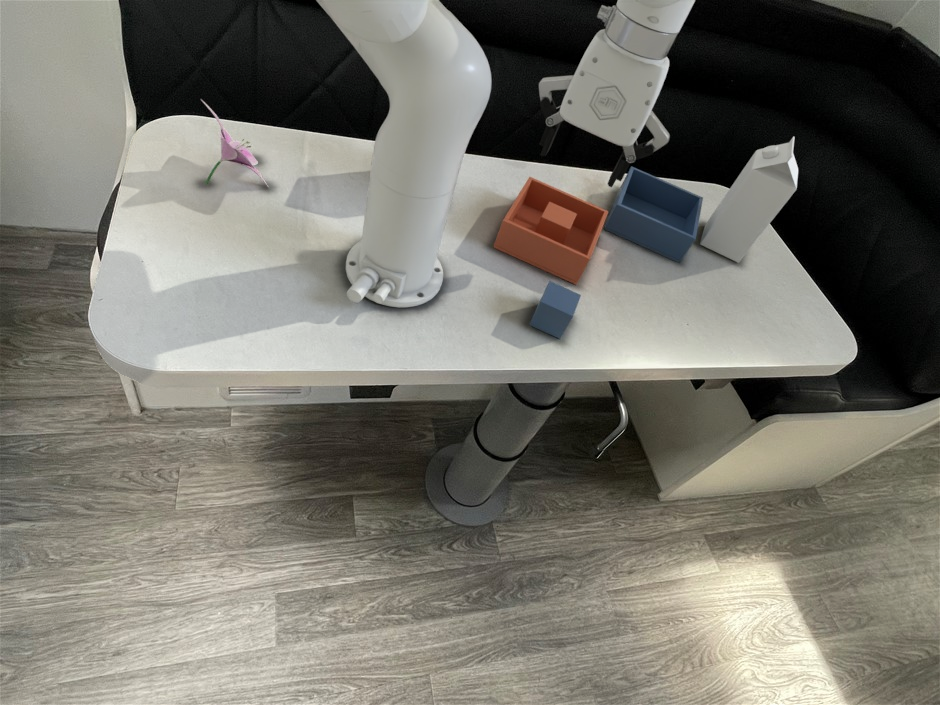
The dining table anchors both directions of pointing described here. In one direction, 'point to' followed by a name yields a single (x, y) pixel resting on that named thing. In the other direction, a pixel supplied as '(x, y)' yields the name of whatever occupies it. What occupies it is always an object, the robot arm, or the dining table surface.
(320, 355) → the dining table surface
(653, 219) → the slate bin
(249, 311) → the dining table surface
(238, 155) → the lily
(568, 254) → the terracotta bin
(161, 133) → the dining table surface
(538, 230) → the terracotta block
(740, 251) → the milk carton
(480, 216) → the dining table surface
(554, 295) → the slate block
